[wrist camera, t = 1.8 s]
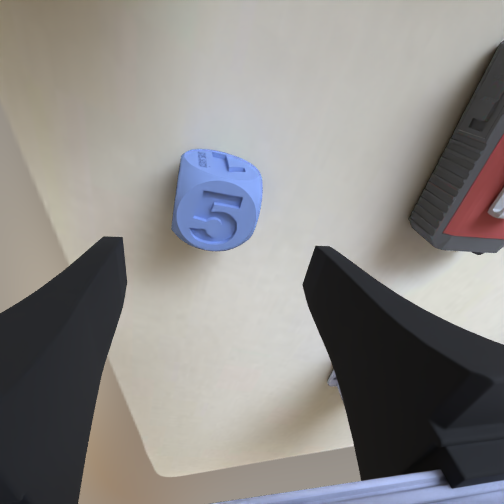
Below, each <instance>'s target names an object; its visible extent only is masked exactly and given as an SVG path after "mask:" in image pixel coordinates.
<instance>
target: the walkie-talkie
mask: <svg viewBox="0 0 504 504" xmlns="http://www.w3.org/2000/svg"><path fill="white" fill-rule="evenodd" d="M409 221H410V224H411V226H412V228H413V229H414V230H415V231H417V232H418V233H419V234H420V235H421V236H422V237H423V238H425V239H426V240H427V241H428V242H429V243H430V244H431V245H433V246H434V247H435V248H438V249H441V250H450V251H468V252H472V253H475V254H477V255H481V254H483V253H485V252H486V253H497V252H498V251H499V250H500V249H501V248H502V247H504V41H503V42H502V43H500V45H499V46H498V48H497V50H496V52H495V54H494V56H493V58H492V60H491V62H490V64H489V66H488V68H487V69H486V71H485V73H484V75H483V77H482V79H481V81H480V83H479V85H478V87H477V89H476V91H475V92H474V94H473V96H472V98H471V100H470V102H469V104H468V106H467V108H466V110H465V112H464V114H463V115H462V117H461V119H460V121H459V123H458V125H457V127H456V129H455V131H454V134H453V136H452V138H450V140H449V143H448V145H447V147H446V148H445V151H444V153H443V155H442V156H441V158H440V161H439V163H438V164H437V165H436V168H435V170H434V172H433V173H432V175H431V178H430V180H429V181H428V183H427V185H426V187H425V189H424V190H423V193H422V195H421V196H420V198H419V201H418V203H417V204H416V206H415V208H414V210H413V211H412V214H411V216H410V218H409Z"/></svg>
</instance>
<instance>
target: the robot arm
mask: <svg viewBox="0 0 504 504" xmlns="http://www.w3.org/2000/svg"><path fill="white" fill-rule="evenodd" d="M126 286H127V276H126V266H125V256H124V246H123V237H102V238H101V239H100V240H99V241H98V242H96V243H95V244H94V245H93V246H92V247H91V248H90V249H88V250H87V251H86V252H85V253H84V254H83V255H82V256H80V257H79V258H78V259H77V260H76V261H75V262H73V263H72V264H71V265H70V266H69V267H67V268H66V269H65V270H64V271H63V272H61V273H60V274H59V275H57V276H56V277H55V278H53V279H52V280H51V281H49V282H48V283H47V284H45V285H44V286H43V287H41V288H40V289H38V290H37V291H35V292H34V293H33V294H31V295H29V296H28V297H26V298H25V299H23V300H22V301H20V302H19V303H17V304H15V305H14V306H12V307H10V308H9V309H7V310H5V311H4V312H2V313H0V504H78V499H79V494H80V487H81V481H82V475H83V469H84V464H85V458H86V452H87V447H88V441H89V435H90V430H91V425H92V419H93V414H94V409H95V404H96V399H97V395H98V390H99V385H100V380H101V376H102V372H103V368H104V364H105V361H106V358H107V355H108V352H109V349H110V346H111V343H112V339H113V336H114V333H115V330H116V327H117V324H118V321H119V318H120V314H121V311H122V308H123V303H124V298H125V292H126ZM303 289H304V293H305V297H306V300H307V304H308V307H309V310H310V312H311V314H312V317H313V319H314V322H315V324H316V326H317V329H318V331H319V333H320V336H321V338H322V340H323V343H324V345H325V347H326V350H327V352H328V354H329V357H330V360H331V362H332V365H333V368H334V370H333V372H332V374H331V376H330V378H329V379H328V382H327V383H328V385H329V386H337V388H338V390H339V393H340V395H341V398H342V400H343V403H344V406H345V410H346V413H347V417H348V422H349V426H350V430H351V434H352V438H353V442H354V447H355V452H356V456H357V461H358V466H359V471H360V476H361V481H358V482H351V483H345V484H338V485H331V486H325V487H318V488H311V489H304V490H298V491H291V492H285V493H278V494H271V495H264V496H258V497H251V498H245V499H238V500H231V501H224V502H217V503H210V504H504V345H503V344H500V343H497V342H494V341H492V340H489V339H487V338H484V337H482V336H480V335H477V334H475V333H472V332H470V331H467V330H465V329H463V328H461V327H459V326H456V325H454V324H452V323H450V322H448V321H446V320H444V319H442V318H440V317H438V316H436V315H434V314H432V313H430V312H428V311H426V310H424V309H422V308H420V307H419V306H417V305H415V304H413V303H412V302H410V301H408V300H407V299H405V298H403V297H402V296H400V295H398V294H397V293H395V292H394V291H392V290H391V289H389V288H388V287H386V286H385V285H383V284H382V283H380V282H379V281H377V280H376V279H374V278H373V277H372V276H370V275H369V274H368V273H366V272H365V271H363V270H362V269H361V268H359V267H358V266H357V265H355V264H354V263H353V262H351V261H350V260H349V259H347V258H346V257H345V256H343V255H342V254H340V253H339V252H338V251H336V250H335V249H333V248H331V247H330V246H315V249H314V252H313V255H312V258H311V261H310V264H309V267H308V270H307V273H306V276H305V279H304V282H303Z"/></svg>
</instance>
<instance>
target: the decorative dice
mask: <svg viewBox="0 0 504 504" xmlns="http://www.w3.org/2000/svg"><path fill="white" fill-rule="evenodd" d="M261 201H262V177H261V174H260V172H259V171H258V169H257V168H256V167H255V166H253V165H252V164H251V163H249V162H247V161H245V160H243V159H241V158H239V157H236V156H233V155H230V154H227V153H223V152H219V151H214V150H206V149H195V150H190V151H187V152H186V153H184V154H183V155H182V156H181V161H180V168H179V174H178V181H177V189H176V196H175V203H174V211H173V219H172V228H171V229H172V231H173V232H174V233H175V234H176V235H177V236H178V237H179V238H180V239H181V240H182V241H184V242H185V243H187V244H189V245H191V246H193V247H196V248H199V249H203V250H208V251H226V250H230V249H233V248H235V247H237V246H239V245H241V244H243V243H244V242H246V241H247V240H248V239H249V238H250V237H251V236H252V234H253V232H254V230H255V227H256V224H257V221H258V217H259V213H260V208H261Z"/></svg>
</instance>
